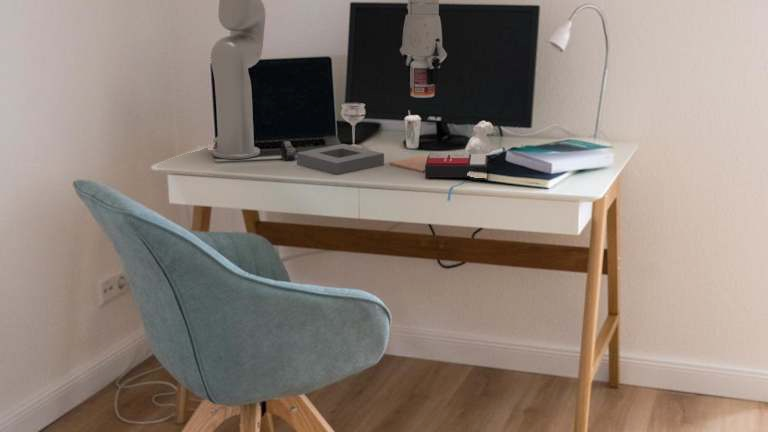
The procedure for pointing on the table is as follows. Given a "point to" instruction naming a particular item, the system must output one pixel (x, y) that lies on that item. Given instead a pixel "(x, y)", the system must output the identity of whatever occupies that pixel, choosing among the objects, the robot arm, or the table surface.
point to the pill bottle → (420, 78)
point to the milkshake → (412, 130)
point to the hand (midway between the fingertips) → (422, 81)
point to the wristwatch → (287, 151)
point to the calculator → (454, 164)
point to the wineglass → (353, 115)
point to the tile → (412, 163)
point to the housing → (340, 159)
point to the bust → (480, 139)
